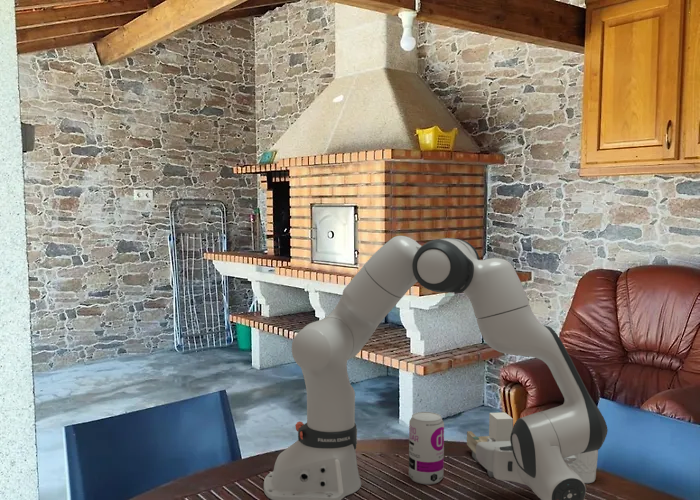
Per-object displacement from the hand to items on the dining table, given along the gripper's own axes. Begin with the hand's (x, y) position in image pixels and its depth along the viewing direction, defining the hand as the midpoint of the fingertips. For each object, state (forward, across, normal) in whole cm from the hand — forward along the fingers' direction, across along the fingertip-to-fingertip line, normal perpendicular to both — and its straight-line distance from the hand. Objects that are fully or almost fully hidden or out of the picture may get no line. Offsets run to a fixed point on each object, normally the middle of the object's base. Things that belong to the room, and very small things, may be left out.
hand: (509, 440), depth 147 cm
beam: (+11, 0, +10) cm, 15 cm away
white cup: (0, -18, +10) cm, 21 cm away
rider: (+6, 0, +6) cm, 8 cm away
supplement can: (+4, +19, +10) cm, 22 cm away
